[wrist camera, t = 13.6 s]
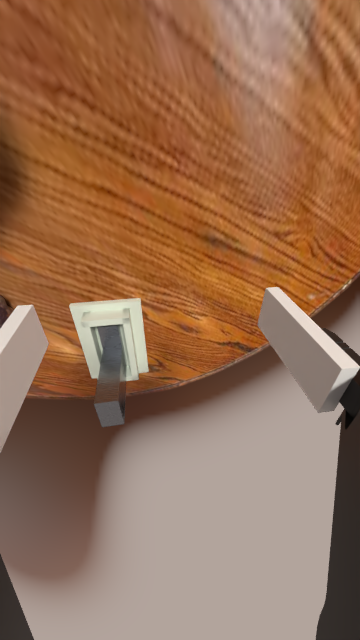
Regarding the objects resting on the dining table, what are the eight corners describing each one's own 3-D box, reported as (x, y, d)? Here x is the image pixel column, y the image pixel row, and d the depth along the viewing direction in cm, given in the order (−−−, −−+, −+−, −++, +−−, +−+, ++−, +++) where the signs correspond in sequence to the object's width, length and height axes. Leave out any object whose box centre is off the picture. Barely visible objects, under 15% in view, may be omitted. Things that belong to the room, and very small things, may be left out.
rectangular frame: (92, 374, 53) (89, 389, 49) (70, 303, 42) (65, 316, 39) (148, 368, 54) (149, 382, 51) (140, 298, 44) (140, 309, 40)
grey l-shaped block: (109, 364, 50) (102, 427, 39) (98, 320, 44) (85, 380, 33) (126, 362, 51) (124, 423, 39) (118, 319, 44) (112, 377, 33)
